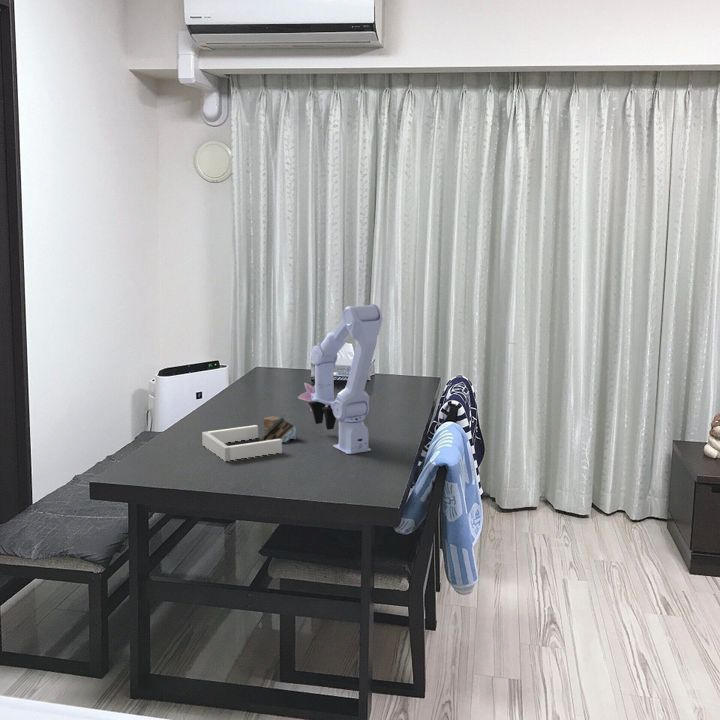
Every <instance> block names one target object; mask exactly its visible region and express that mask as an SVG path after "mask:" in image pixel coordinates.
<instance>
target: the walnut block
mask: <svg viewBox="0 0 720 720" xmlns="http://www.w3.org/2000/svg"><path fill="white" fill-rule="evenodd" d="M279 418H280V417H278V416H273V415H272V416H269V417H264V418H263V431H265V430H266V431H267V430H268V429H269V428H270V427H271V426H272V425H273V424H274V423H275V422H276V421H277V420H278V419H279ZM266 431H265V432H266Z"/></svg>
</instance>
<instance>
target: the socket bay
mask: <svg viewBox="0 0 720 720" xmlns="http://www.w3.org/2000/svg"><path fill="white" fill-rule="evenodd" d="M201 435H202V436H201V438H202V439H201V441H202V443H201V445H202V446H203V447H204V446H205V448H206V450H208V449H209V450H208V451H210V452H211V453H212V454H214V453H215V454H216V455H215V454H214V455H215V456H217V457H218V456H219V457H220V458H219V457H218V458H219V459H221V460H222V459H223V460H224V461H223V460H222V461H223V462H225V461H228V462H231V461H230V460H234V461H236V460H235V459H241V458H247V459H249V458H248V457H254V458H256V457H255V456H260V457H263V456H262V455H267V456H269V455H268V454H273V455H277V454H276V453H279V454H283V442H282V440H281V439H274V440H267V441H260V440H259V441H254V442H248V443H247V442H246V443H241V444H235V445H234V444H233V445H227V444H229V443H228V442H231V443H236V442H235V441H238V442H242V441H241V440H245V441H250V440H249V439H252V440H256V439H255V438H258V439H259V426H258V425H257V424H253V425H248V426H238V427H231V428H226V429H225V428H224V429H223V428H222V429H216V430H208V431H202V432H201ZM241 460H242V459H241Z"/></svg>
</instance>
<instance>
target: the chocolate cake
mask: <svg viewBox="0 0 720 720" xmlns="http://www.w3.org/2000/svg"><path fill="white" fill-rule="evenodd" d="M278 418H279V419H278V420H277V421H276V422H275V423H274V424H273V425H272V426H271V427H270V428H269V429H268V430H267V431H264V432H263V433H262V434H261V436H260V438H259V442H260V441H267V440H274V439H281V440H282V443H284V442H290V441H291V440H290V439H295V440H296V439H297V438H296V437H297V426H296V425H294V424H292V423H290V422H289V421H286V419H285V414H282V415H281V416H280V417H278Z"/></svg>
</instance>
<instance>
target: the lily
mask: <svg viewBox="0 0 720 720" xmlns="http://www.w3.org/2000/svg"><path fill="white" fill-rule="evenodd" d="M303 384H304V387H305V390H306V391H305V392H303V393H301V394H300V395H298V396H297V399H298V400H303V401H306V402H308V403H309V402H310V401H312V399H311V393H315V384H314V385H311V384H309V383H307V382H303ZM325 407H328V405H325ZM309 411H310V412H312V409H311V407H310V406H309Z"/></svg>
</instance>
